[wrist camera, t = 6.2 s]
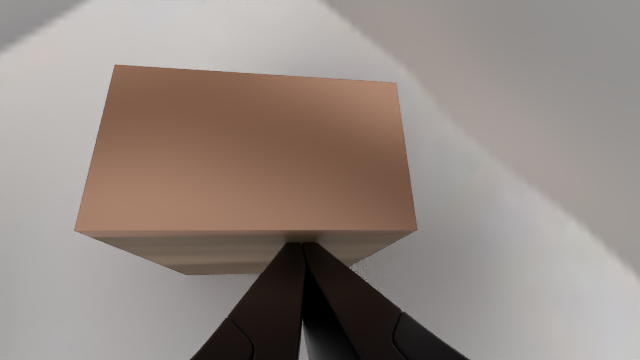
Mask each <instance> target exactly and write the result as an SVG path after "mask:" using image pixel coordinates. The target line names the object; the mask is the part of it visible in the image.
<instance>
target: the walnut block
mask: <svg viewBox="0 0 640 360" xmlns="http://www.w3.org/2000/svg"><path fill="white" fill-rule="evenodd" d="M416 230H417V224H416V217H415V211H414V204H413V197H412V190H411V183H410V176H409V169H408V162H407V155H406V148H405V141H404V134H403V127H402V120H401V113H400V106H399V99H398V92H397V85H396V83H392V82H377V81H361V80H346V79H330V78H315V77H299V76H283V75H268V74H252V73H237V72H221V71H205V70H190V69H174V68H159V67H143V66H128V65H115V66H114V70H113V74H112V78H111V82H110V86H109V90H108V94H107V99H106V103H105V107H104V111H103V115H102V119H101V123H100V127H99V131H98V135H97V139H96V144H95V148H94V152H93V156H92V160H91V164H90V168H89V172H88V176H87V180H86V184H85V188H84V193H83V197H82V201H81V205H80V209H79V213H78V217H77V221H76V225H75V229H74V231H77V232H79V233H82V234H84V235H87V236H89V237H92V238H94V239H97V240H99V241H102V242H104V243H107V244H109V245H112V246H114V247H117V248H120V249H122V250H125V251H127V252H130V253H132V254H135V255H137V256H140V257H142V258H145V259H147V260H150V261H152V262H155V263H157V264H160V265H163V266H165V267H168V268H170V269H173V270H175V271H178V272H180V273H183V274H185V275H207V274H256V273H262V272H263V271H264V270H265V268H266V267H267V266H268V265H269V263H270V262H271V261H272V259H273V258H274V257H275V256H276V254H277V253H278V252H279V251H280V249H281V248H282V247H283V246H284V244H285V243H287V242H300V243H301V244H302V243H304V242H317V243H319V244H320V245H321V246H322V247H324V248H325V249H326V250H327V251H329V252H330V253H331V254H332V255H334V256H335V257H336V258H337V259H339V260H340V261H341V262H342V263H344V264H345V265H346V266H347V267H349V266H351V265H353V264H355V263H357V262H359V261H360V260H362V259H364V258H366V257H368V256H370V255H372V254H373V253H375V252H377V251H379V250H381V249H383V248H385V247H386V246H388V245H390V244H392V243H394V242H396V241H398V240H399V239H401V238H403V237H405V236H407V235H409V234H411V233H412V232H414V231H416Z"/></svg>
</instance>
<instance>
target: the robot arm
mask: <svg viewBox="0 0 640 360" xmlns="http://www.w3.org/2000/svg"><path fill="white" fill-rule="evenodd" d="M302 323H303V330H304V336H305V341H306V346H307V352H308V357H309V360H469V359H468V358H466V357H465V356H464V355H462V354H461V353H459V352H458V351H456V350H455V349H454V348H452V347H451V346H449V345H448V344H446V343H445V342H444V341H442V340H441V339H439V338H438V337H437V336H435V335H434V334H433V333H431V332H430V331H429V330H427V329H426V328H425V327H423V326H422V325H421V324H419V323H418V322H417V321H416V320H414V319H413V318H412V317H411V316H409V315H408V314H407V313H406V312H402V310H401V309H400V308H398V307H397V306H396V305H395V304H393V303H392V302H391V301H390V300H388V299H387V298H386V297H385V296H383V295H382V294H381V293H380V292H378V291H377V290H376V289H375V288H373V287H372V286H371V285H370V284H369V283H367V282H366V281H365V280H364V279H362V278H361V277H360V276H359V275H357V274H356V273H355V272H354V271H352V270H351V269H350V268H349V267H347V266H346V265H345V264H344V263H342V262H341V261H340V260H339V259H337V258H336V257H335V256H334V255H332V254H331V253H330V252H329V251H327V250H326V249H325V248H324V247H322V246H321V245H320V244H319V243H317V242H304V243H302V244H301V243H300V242H287V243H285V244H284V246H283V247H282V248H281V249H280V251H279V252H278V253H277V254H276V256H275V257H274V258H273V259H272V261H271V262H270V263H269V265H268V266H267V267H266V268H265V270H264V271H263V272H262V273H261V275H260V276H259V277H258V279H257V280H256V281H255V282H254V284H253V285H252V286H251V287H250V289H249V290H248V291H247V292H246V294H245V295H244V296H243V298H242V299H241V300H240V301H239V303H238V304H237V305H236V306H235V308H234V309H233V310H232V311H231V313H230V314H229V315H228V317H227V318H225V320H224V321H223V322H222V323H221V325H220V326H219V327H218V328H217V330H216V331H215V332H214V333H213V335H212V336H211V337H210V338H209V339H208V340H207V342H206V343H205V344H204V345H203V346H202V347H201V349H200V350H199V351H198V352H197V353H196V354H195V355H194V356H193V357H192V358H191V359H190V360H299V353H300V341H301V330H302Z"/></svg>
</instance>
